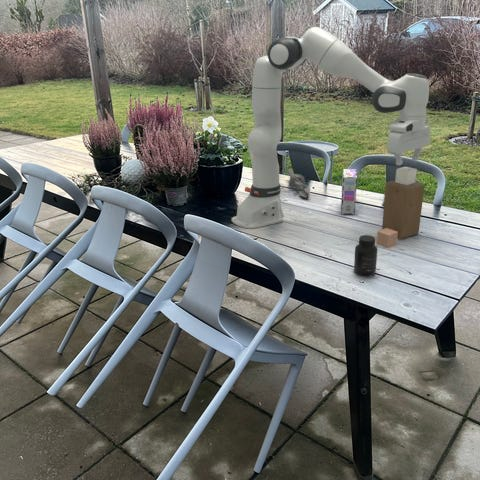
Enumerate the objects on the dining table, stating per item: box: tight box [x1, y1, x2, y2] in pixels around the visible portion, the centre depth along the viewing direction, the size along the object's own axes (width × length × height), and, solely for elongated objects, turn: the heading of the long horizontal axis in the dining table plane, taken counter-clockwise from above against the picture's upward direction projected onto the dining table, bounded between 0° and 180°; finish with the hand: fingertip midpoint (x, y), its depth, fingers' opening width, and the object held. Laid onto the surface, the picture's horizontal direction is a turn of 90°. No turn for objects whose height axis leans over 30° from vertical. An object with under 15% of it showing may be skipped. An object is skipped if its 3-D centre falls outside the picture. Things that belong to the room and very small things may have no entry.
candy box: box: [340, 168, 358, 215], centre depth 201 cm, size 14×6×16 cm, turn 168°
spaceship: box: [287, 168, 311, 199], centre depth 231 cm, size 8×35×8 cm
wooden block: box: [381, 179, 425, 240], centre depth 174 cm, size 10×10×20 cm
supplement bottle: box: [353, 234, 378, 277], centre depth 148 cm, size 7×7×12 cm
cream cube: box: [394, 166, 418, 185], centre depth 169 cm, size 5×5×5 cm
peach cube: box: [375, 228, 398, 249], centre depth 168 cm, size 5×5×5 cm
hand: (407, 162), depth 167 cm, fingers open, 8 cm apart
